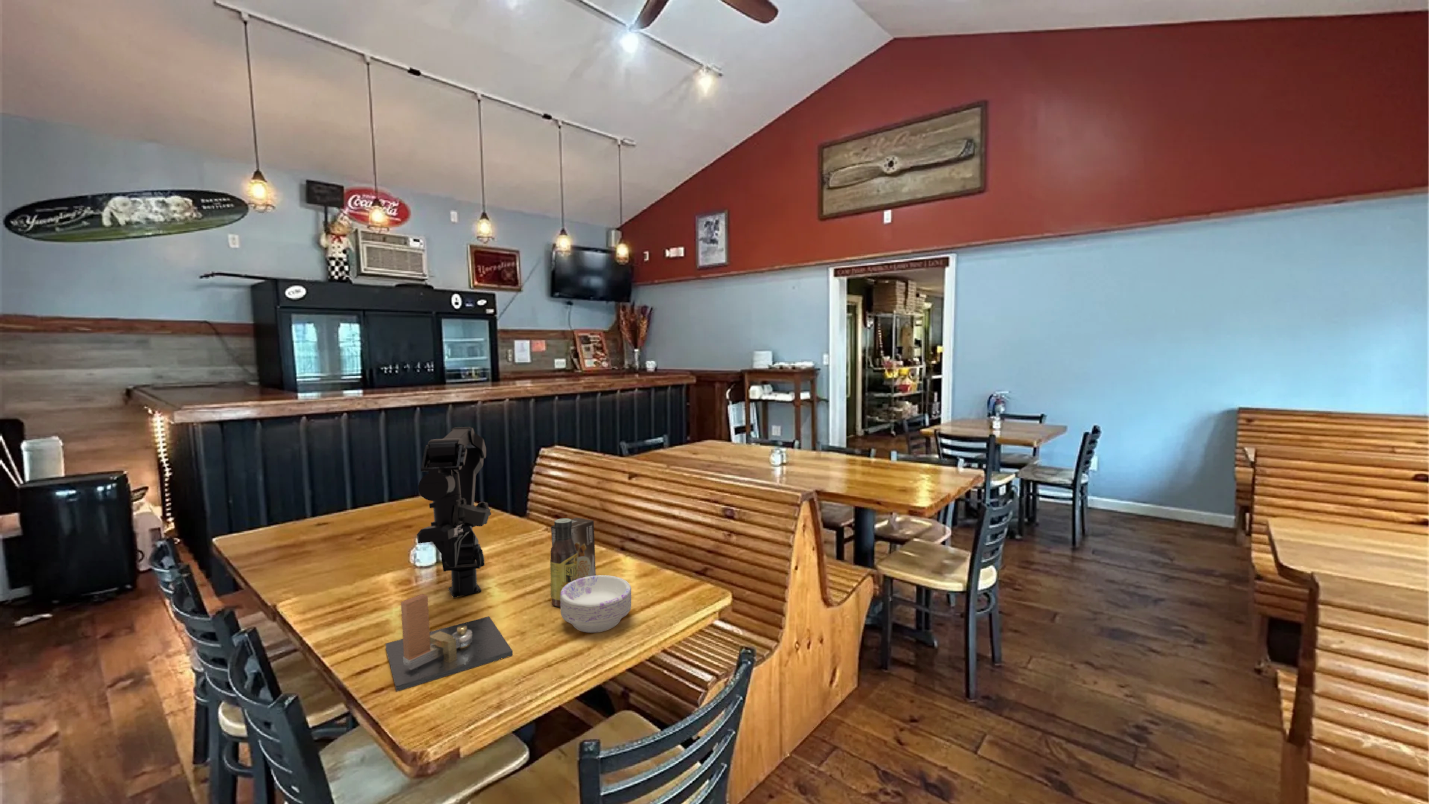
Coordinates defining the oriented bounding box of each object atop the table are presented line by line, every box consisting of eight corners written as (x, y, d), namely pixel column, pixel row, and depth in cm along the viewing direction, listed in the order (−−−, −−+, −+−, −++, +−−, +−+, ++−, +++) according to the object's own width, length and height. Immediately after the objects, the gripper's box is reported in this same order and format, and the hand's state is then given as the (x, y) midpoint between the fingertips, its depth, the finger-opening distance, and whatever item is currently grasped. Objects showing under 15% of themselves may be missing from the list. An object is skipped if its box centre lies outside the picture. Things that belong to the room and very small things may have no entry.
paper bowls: (618, 643, 115) (617, 605, 114) (548, 637, 118) (547, 600, 117) (640, 609, 130) (640, 576, 129) (578, 604, 133) (577, 572, 132)
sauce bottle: (571, 609, 130) (568, 525, 129) (546, 607, 132) (543, 524, 130) (583, 597, 137) (580, 517, 135) (559, 595, 138) (556, 516, 136)
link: (465, 636, 115) (462, 577, 114) (476, 641, 113) (473, 581, 112) (402, 665, 104) (398, 600, 103) (412, 671, 103) (408, 605, 101)
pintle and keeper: (471, 645, 114) (470, 621, 114) (465, 665, 107) (464, 640, 107) (434, 650, 113) (432, 626, 112) (425, 671, 105) (424, 645, 105)
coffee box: (578, 575, 151) (577, 516, 149) (596, 580, 147) (595, 520, 146) (552, 587, 143) (550, 525, 141) (570, 593, 139) (568, 529, 138)
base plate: (385, 648, 114) (385, 643, 114) (489, 620, 125) (489, 616, 125) (396, 691, 99) (396, 686, 99) (512, 655, 111) (512, 650, 110)
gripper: (468, 496, 116) (475, 573, 115) (497, 487, 134) (503, 553, 134) (412, 503, 115) (419, 580, 114) (449, 493, 134) (455, 559, 133)
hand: (453, 567), depth 124 cm, fingers closed
